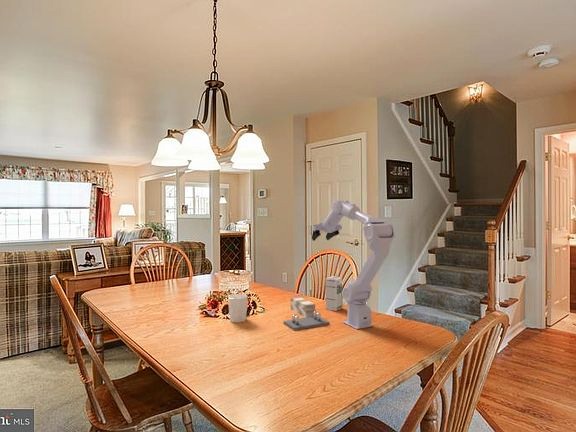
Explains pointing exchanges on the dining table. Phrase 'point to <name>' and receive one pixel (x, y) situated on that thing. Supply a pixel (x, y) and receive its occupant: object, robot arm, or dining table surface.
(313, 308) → the white blocky piece
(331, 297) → the syrup box
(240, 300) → the white cup
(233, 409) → the dining table surface
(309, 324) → the peg stand
